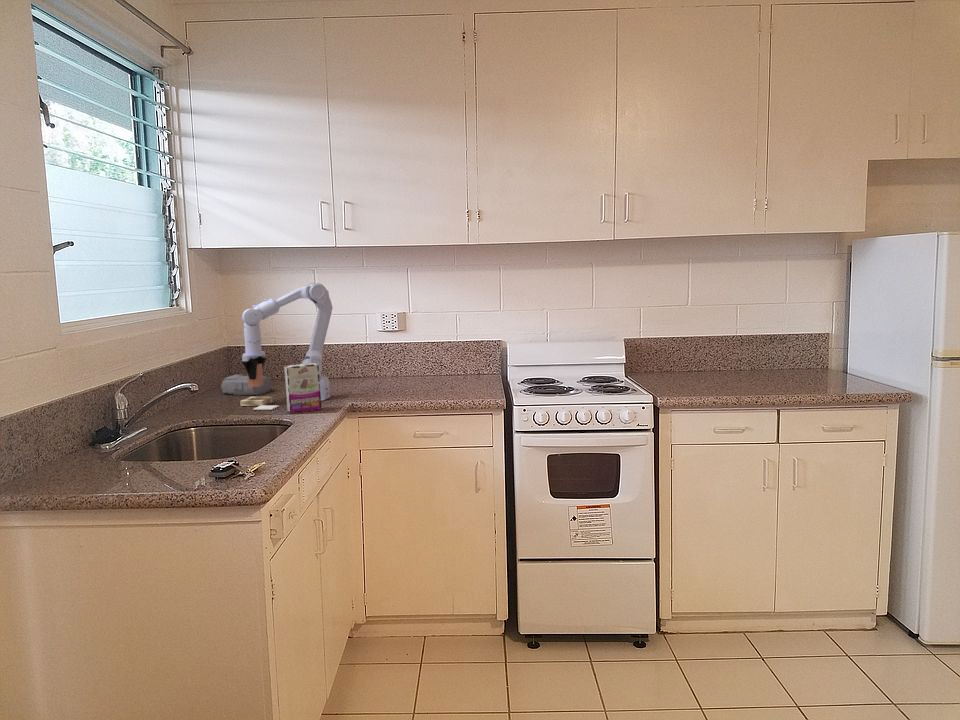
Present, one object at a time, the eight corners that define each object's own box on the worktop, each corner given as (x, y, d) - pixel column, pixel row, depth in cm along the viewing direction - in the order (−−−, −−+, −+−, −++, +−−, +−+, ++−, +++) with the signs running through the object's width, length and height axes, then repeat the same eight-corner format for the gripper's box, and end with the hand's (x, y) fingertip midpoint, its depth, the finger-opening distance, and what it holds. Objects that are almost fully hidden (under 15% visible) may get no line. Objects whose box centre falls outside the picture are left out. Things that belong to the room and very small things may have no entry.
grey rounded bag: (276, 391, 297) (238, 389, 305) (275, 371, 296) (237, 369, 304) (251, 397, 284) (212, 395, 291) (250, 376, 282) (210, 374, 290)
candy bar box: (318, 407, 258) (315, 362, 256) (321, 410, 253) (319, 363, 251) (286, 411, 253) (283, 365, 251) (289, 413, 248) (286, 366, 246)
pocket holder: (272, 402, 271) (272, 396, 270) (262, 406, 262) (262, 400, 262) (251, 402, 272) (250, 396, 272) (240, 406, 264) (240, 400, 263)
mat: (279, 407, 261) (279, 405, 261) (271, 410, 255) (271, 408, 255) (261, 406, 262) (260, 405, 262) (253, 410, 256) (252, 408, 256)
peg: (263, 384, 268) (261, 363, 267) (258, 386, 264) (257, 364, 263) (253, 384, 268) (251, 363, 267) (248, 386, 264) (246, 364, 263)
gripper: (251, 339, 271) (254, 375, 273) (233, 343, 257) (235, 381, 259) (269, 339, 270) (271, 375, 272) (251, 343, 256) (254, 381, 258)
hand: (255, 378), depth 266 cm, fingers closed on peg, 4 cm apart
